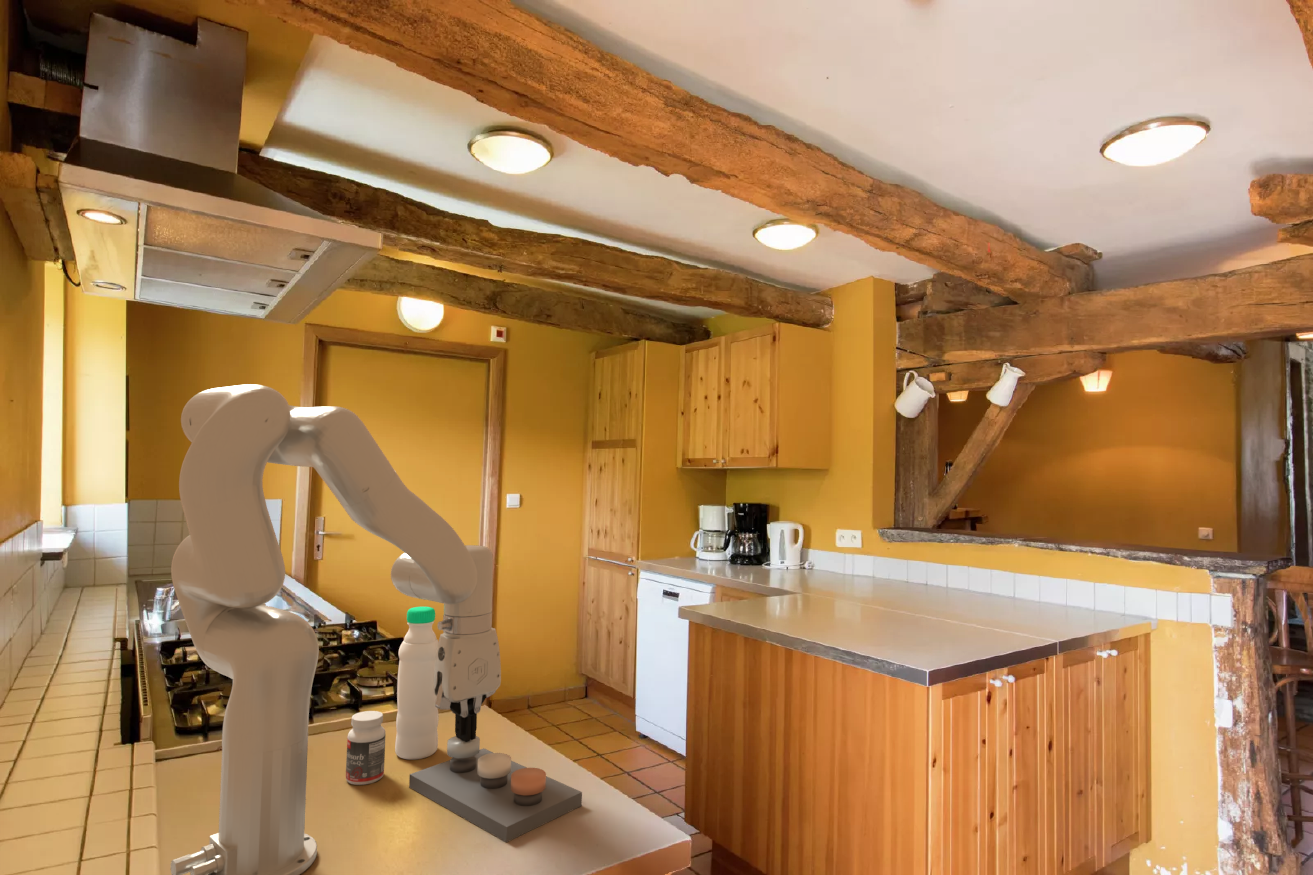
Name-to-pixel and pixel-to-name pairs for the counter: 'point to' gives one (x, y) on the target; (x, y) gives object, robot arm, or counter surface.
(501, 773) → the white button
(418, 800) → the counter surface
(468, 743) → the bluegrey button
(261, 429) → the robot arm
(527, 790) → the terracotta button
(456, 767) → the button panel
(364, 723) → the pill bottle
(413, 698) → the water bottle
